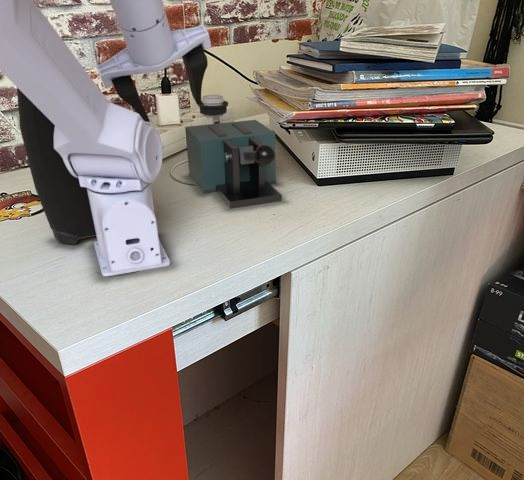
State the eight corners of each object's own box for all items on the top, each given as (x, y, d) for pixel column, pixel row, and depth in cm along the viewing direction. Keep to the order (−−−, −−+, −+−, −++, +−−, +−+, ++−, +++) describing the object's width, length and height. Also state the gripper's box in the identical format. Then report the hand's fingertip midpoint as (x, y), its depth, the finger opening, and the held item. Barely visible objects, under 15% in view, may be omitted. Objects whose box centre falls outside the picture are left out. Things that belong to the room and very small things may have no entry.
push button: (210, 148, 104) (207, 91, 98) (236, 150, 102) (234, 93, 96) (197, 158, 99) (192, 99, 93) (224, 160, 97) (221, 101, 91)
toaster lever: (279, 165, 71) (277, 143, 70) (259, 168, 71) (257, 145, 70) (251, 163, 82) (249, 144, 81) (233, 166, 81) (231, 146, 80)
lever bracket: (281, 202, 81) (281, 148, 76) (230, 209, 78) (228, 155, 74) (258, 181, 88) (257, 131, 84) (211, 187, 86) (208, 137, 81)
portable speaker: (35, 242, 70) (-12, 74, 59) (82, 217, 77) (48, 63, 66) (88, 252, 67) (49, 77, 56) (132, 225, 74) (105, 66, 63)
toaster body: (276, 184, 87) (276, 132, 82) (203, 194, 83) (199, 140, 79) (256, 167, 94) (256, 118, 89) (188, 176, 90) (184, 125, 86)
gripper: (187, -25, 65) (209, 73, 77) (74, 17, 64) (115, 110, 76) (207, 8, 62) (227, 104, 74) (89, 53, 61) (129, 143, 73)
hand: (171, 109), depth 75 cm, fingers open, 7 cm apart
